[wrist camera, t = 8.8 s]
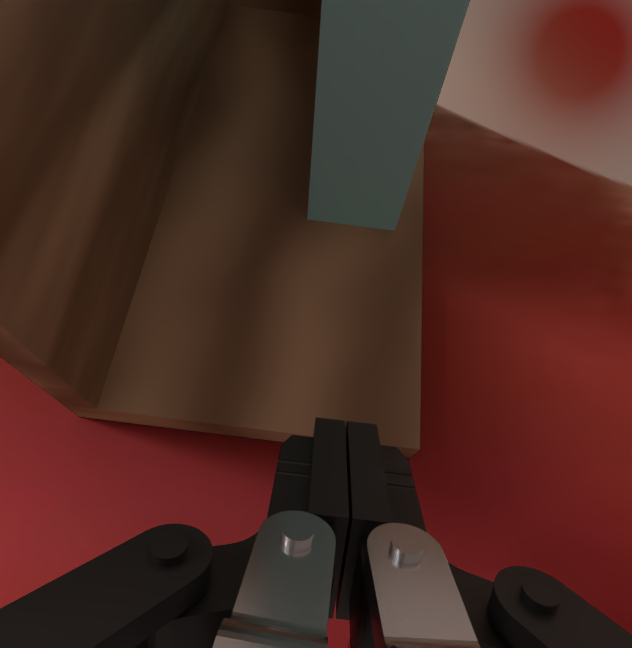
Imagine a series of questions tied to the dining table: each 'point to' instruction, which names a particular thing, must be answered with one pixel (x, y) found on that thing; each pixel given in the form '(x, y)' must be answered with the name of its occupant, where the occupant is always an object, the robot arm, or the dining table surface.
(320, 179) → the rectangular block
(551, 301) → the dining table surface
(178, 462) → the dining table surface
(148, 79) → the open wooden box
